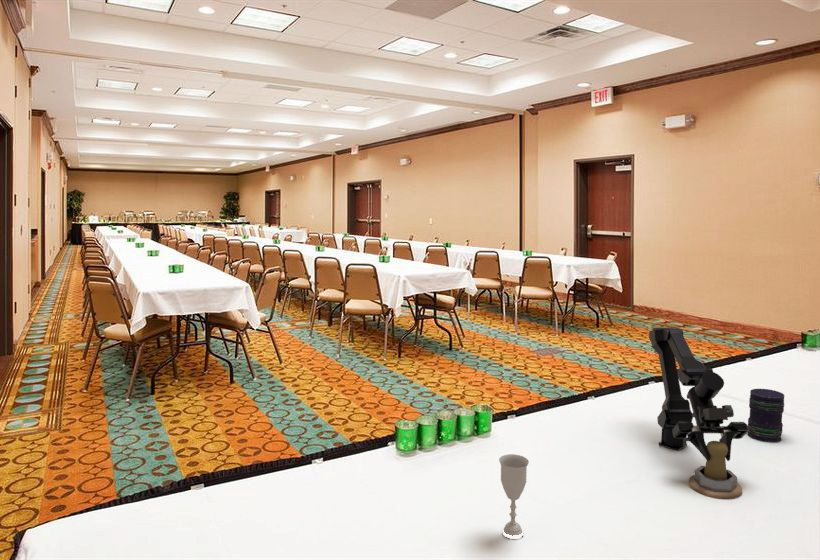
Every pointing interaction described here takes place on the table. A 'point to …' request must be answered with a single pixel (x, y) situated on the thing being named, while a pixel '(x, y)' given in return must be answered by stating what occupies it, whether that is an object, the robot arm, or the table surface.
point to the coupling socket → (715, 485)
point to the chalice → (513, 485)
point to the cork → (716, 461)
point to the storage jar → (765, 415)
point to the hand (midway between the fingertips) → (718, 460)
